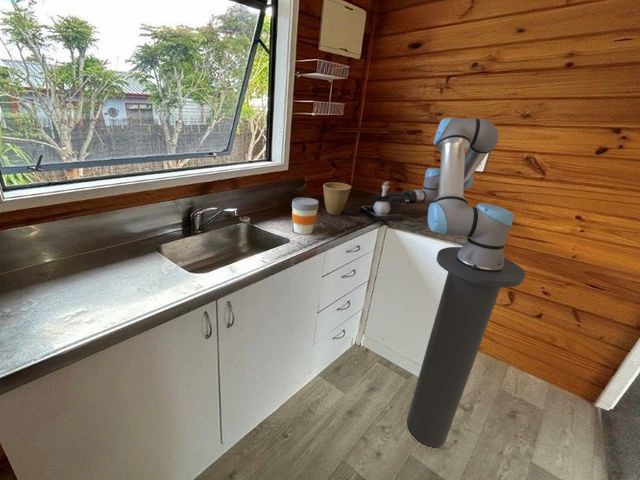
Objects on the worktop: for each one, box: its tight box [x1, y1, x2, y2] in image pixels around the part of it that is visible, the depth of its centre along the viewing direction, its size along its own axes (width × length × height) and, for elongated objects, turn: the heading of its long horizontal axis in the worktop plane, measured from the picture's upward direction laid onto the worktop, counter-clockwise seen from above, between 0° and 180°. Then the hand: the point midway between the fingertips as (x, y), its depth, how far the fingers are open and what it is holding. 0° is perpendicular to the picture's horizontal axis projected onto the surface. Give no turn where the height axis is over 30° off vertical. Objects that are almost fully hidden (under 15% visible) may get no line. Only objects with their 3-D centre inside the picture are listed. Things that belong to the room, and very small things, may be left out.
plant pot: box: [322, 182, 352, 216], centre depth 170 cm, size 15×15×16 cm
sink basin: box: [359, 205, 403, 222], centre depth 169 cm, size 16×16×5 cm
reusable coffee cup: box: [291, 197, 320, 235], centre depth 145 cm, size 12×13×15 cm
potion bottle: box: [373, 181, 391, 215], centre depth 167 cm, size 9×9×18 cm
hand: (374, 198), depth 166 cm, fingers closed on potion bottle, 2 cm apart
